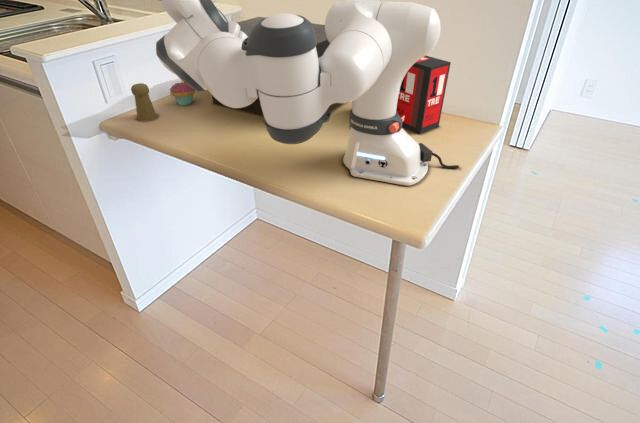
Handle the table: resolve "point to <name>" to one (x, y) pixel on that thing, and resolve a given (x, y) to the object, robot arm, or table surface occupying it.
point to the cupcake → (182, 93)
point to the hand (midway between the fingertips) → (237, 59)
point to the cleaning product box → (423, 94)
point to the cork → (143, 102)
